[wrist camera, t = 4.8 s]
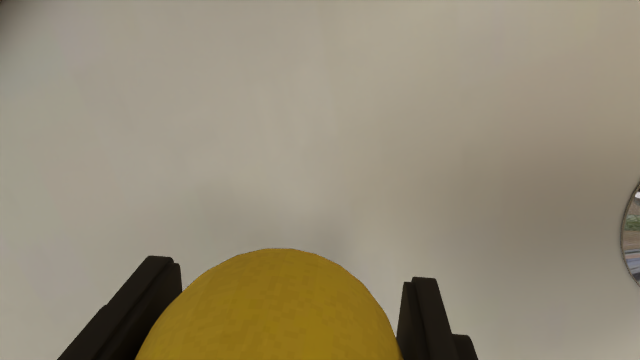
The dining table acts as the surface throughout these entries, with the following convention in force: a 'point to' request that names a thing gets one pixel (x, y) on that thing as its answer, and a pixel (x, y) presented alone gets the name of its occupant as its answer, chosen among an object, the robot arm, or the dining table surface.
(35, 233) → the dining table surface
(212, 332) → the lemon
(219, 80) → the dining table surface
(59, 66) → the dining table surface
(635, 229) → the wine glass
